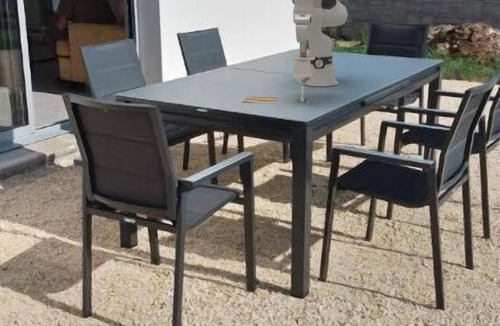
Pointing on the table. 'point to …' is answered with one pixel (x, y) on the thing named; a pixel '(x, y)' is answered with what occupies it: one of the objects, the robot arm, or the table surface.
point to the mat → (261, 100)
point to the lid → (303, 56)
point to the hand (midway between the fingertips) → (303, 51)
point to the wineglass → (302, 73)
